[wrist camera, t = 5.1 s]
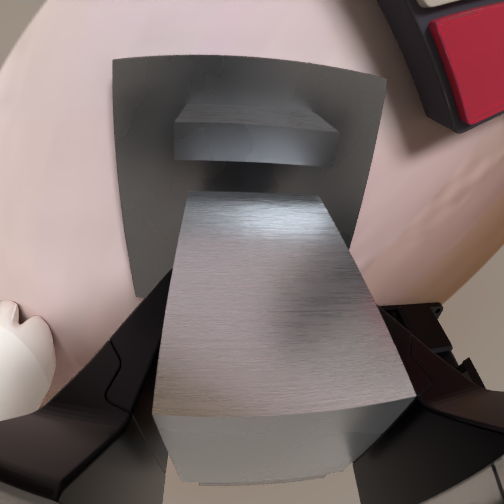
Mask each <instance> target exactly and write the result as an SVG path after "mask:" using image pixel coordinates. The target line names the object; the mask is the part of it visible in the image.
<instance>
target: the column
mask: <svg viewBox="0 0 504 504" xmlns="http://www.w3.org/2000/svg"><path fill="white" fill-rule="evenodd" d="M415 397H416V394H415V391H414V389H413V386H412V384H411V381H410V379H409V377H408V374H407V372H406V369H405V367H404V365H403V362H402V360H401V358H400V355H399V353H398V351H397V349H396V346H395V344H394V342H393V340H392V338H391V335H390V333H389V331H388V329H387V327H386V324H385V322H384V320H383V318H382V316H381V314H380V312H379V310H378V307H377V305H376V303H375V301H374V299H373V297H372V295H371V293H370V291H369V289H368V287H367V285H366V283H365V281H364V279H363V277H362V275H361V273H360V271H359V269H358V267H357V265H356V263H355V261H354V259H353V257H352V256H351V254H350V252H349V250H348V248H347V246H346V244H345V242H344V240H343V239H342V237H341V235H340V233H339V231H338V229H337V228H336V226H335V224H334V222H333V220H332V218H331V217H330V215H329V213H328V211H327V210H326V208H325V206H324V204H323V202H322V201H321V199H320V197H319V196H313V195H297V194H279V193H257V192H230V191H189V192H188V197H187V201H186V206H185V210H184V215H183V220H182V224H181V229H180V234H179V239H178V244H177V249H176V254H175V260H174V265H173V271H172V276H171V282H170V287H169V293H168V299H167V305H166V311H165V318H164V324H163V331H162V338H161V345H160V352H159V359H158V367H157V375H156V383H155V391H154V400H153V410H152V415H153V418H154V420H155V423H156V425H157V428H158V430H159V433H160V435H161V437H162V440H163V442H164V444H165V447H166V449H167V451H168V453H169V455H170V458H171V459H172V462H173V464H174V466H175V469H176V470H177V473H178V475H179V477H180V479H181V481H185V482H198V483H199V485H201V486H236V485H237V486H238V485H260V484H274V483H285V482H295V481H303V480H311V479H317V478H324V477H325V476H326V475H327V474H329V473H335V472H341V471H343V470H345V469H346V468H347V467H348V466H349V465H350V464H351V463H352V462H354V461H355V460H356V459H357V458H358V457H359V456H360V455H361V454H362V453H363V452H364V451H365V450H366V449H367V448H368V447H369V446H370V445H371V444H373V443H374V442H375V441H376V440H377V439H378V438H379V437H380V436H381V434H382V433H383V432H384V431H385V430H386V429H387V428H388V427H389V426H390V425H391V424H392V423H393V422H394V421H395V420H396V419H397V418H398V417H399V415H400V414H401V413H402V412H403V411H404V410H405V409H406V408H407V406H408V405H409V404H410V403H411V402H412V401H413V400H414V398H415Z"/></svg>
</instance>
